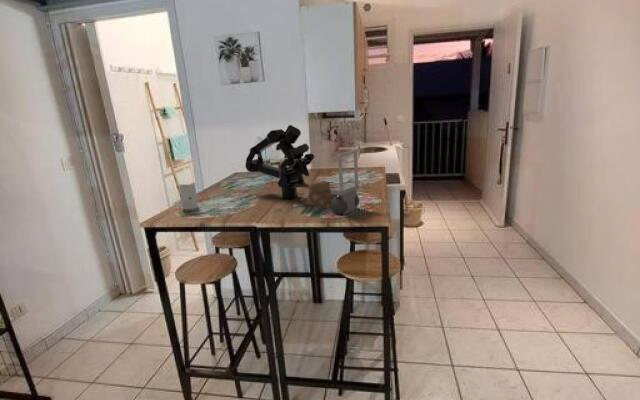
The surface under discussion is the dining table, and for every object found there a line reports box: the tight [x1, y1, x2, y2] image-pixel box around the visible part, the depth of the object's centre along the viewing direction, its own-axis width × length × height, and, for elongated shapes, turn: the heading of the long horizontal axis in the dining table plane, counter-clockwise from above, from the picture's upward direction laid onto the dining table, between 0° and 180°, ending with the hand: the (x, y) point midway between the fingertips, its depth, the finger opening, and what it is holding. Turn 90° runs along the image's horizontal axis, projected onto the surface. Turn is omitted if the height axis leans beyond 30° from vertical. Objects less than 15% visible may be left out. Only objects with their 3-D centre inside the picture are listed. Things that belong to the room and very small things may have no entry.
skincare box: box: [178, 181, 199, 210], centre depth 162 cm, size 6×4×12 cm
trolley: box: [330, 149, 360, 216], centre depth 140 cm, size 7×12×25 cm, turn 140°
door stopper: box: [288, 166, 306, 188], centre depth 194 cm, size 9×6×12 cm, turn 146°
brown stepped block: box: [300, 180, 338, 210], centre depth 155 cm, size 16×10×9 cm, turn 50°
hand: (308, 175), depth 157 cm, fingers closed
